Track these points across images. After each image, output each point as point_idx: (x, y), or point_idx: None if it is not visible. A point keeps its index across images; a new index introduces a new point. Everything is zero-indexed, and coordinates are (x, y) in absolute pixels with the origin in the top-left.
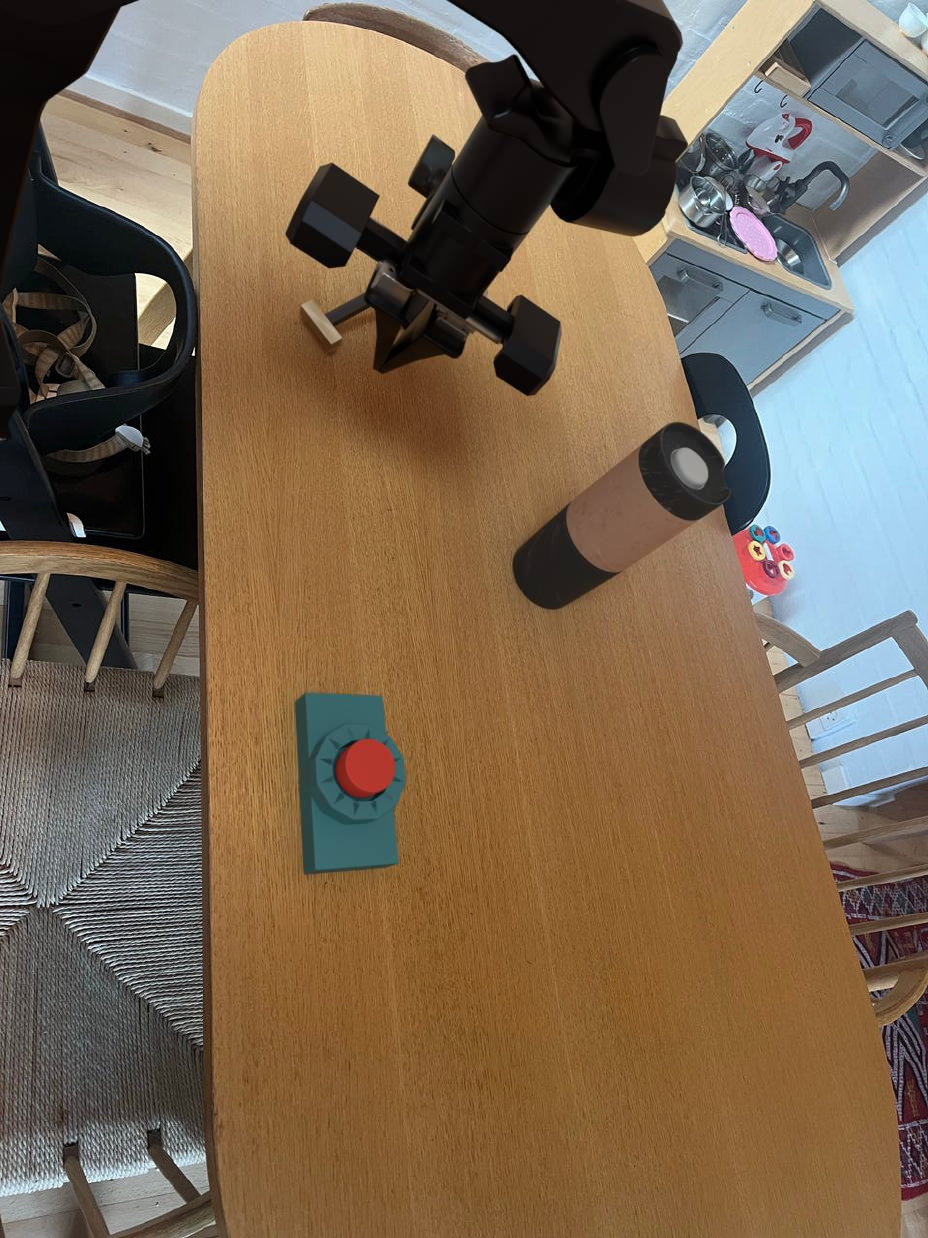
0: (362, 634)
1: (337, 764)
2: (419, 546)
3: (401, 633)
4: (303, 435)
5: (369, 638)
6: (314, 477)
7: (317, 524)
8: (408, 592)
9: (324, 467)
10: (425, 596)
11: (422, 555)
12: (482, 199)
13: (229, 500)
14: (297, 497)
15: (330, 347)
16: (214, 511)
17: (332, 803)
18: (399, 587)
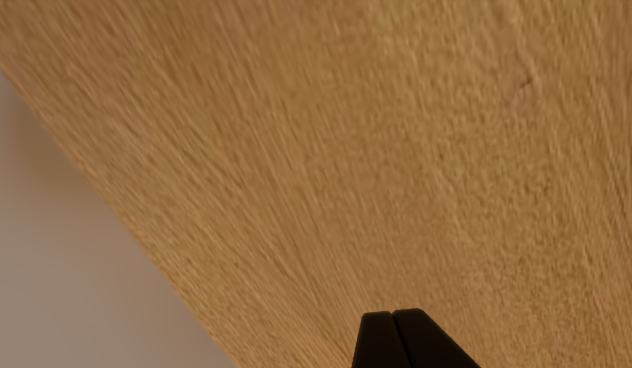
0: (501, 336)
1: None
2: (610, 129)
3: (573, 304)
4: (251, 16)
5: (514, 336)
6: (324, 116)
7: (368, 213)
8: (585, 235)
9: (336, 74)
10: (624, 224)
11: (618, 145)
12: None
13: (194, 263)
14: (308, 184)
15: None
16: (184, 294)
17: None
18: (564, 236)
